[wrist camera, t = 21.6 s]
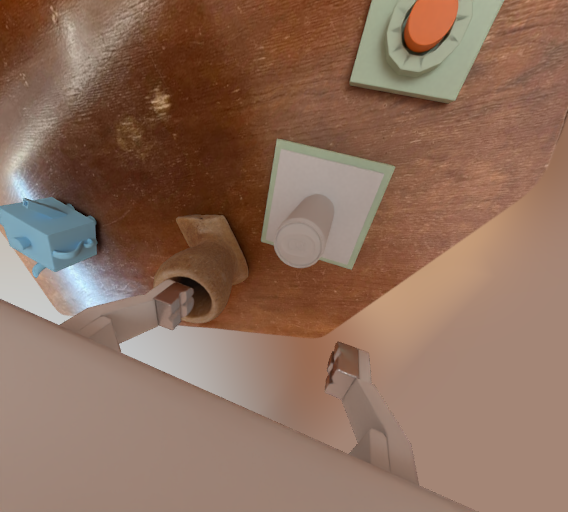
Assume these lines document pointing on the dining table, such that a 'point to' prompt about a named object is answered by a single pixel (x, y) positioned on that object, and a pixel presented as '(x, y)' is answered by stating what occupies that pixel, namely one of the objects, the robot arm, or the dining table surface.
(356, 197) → the scale
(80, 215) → the teapot
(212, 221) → the tan stone pipe
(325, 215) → the beverage can
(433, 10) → the button
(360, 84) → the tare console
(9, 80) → the dining table surface
